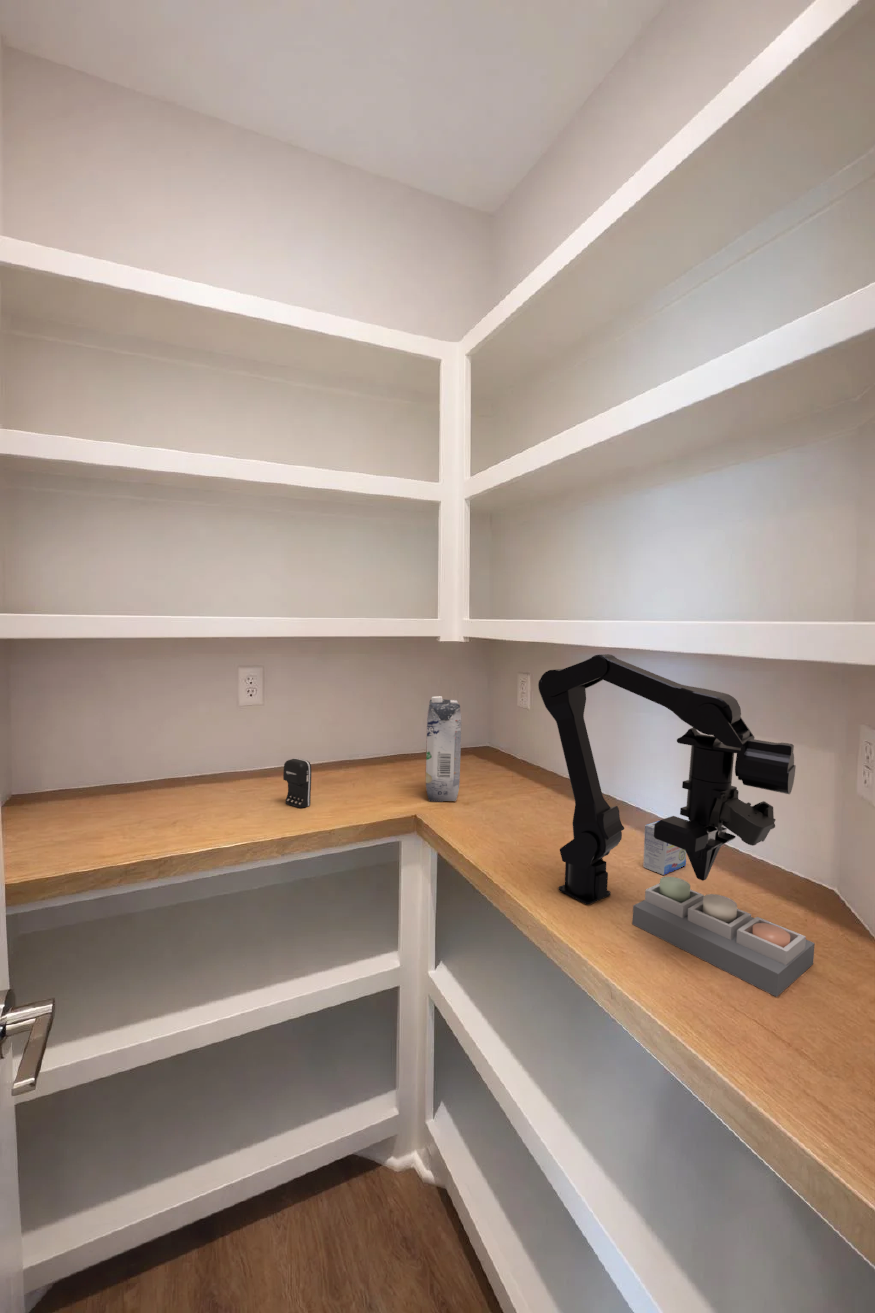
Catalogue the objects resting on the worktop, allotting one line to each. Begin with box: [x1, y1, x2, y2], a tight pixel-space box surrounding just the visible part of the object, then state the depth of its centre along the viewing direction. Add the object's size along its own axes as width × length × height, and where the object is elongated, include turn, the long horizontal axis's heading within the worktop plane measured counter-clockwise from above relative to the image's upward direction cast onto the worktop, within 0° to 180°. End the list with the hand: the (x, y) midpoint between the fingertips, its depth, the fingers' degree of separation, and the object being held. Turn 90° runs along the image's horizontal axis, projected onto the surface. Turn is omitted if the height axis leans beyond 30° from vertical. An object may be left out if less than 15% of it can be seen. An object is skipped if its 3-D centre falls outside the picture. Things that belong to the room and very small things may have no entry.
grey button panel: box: [631, 882, 816, 998], centre depth 81 cm, size 21×12×5 cm, turn 37°
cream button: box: [703, 893, 738, 923], centre depth 81 cm, size 4×4×2 cm
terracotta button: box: [752, 923, 790, 948], centre depth 76 cm, size 4×4×2 cm
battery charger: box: [282, 757, 312, 809], centre depth 137 cm, size 7×4×11 cm, turn 56°
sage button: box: [659, 876, 691, 902], centre depth 87 cm, size 4×4×2 cm
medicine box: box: [642, 820, 687, 876], centre depth 107 cm, size 8×4×9 cm, turn 126°
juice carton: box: [425, 695, 462, 802], centre depth 147 cm, size 9×10×27 cm
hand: (701, 879), depth 83 cm, fingers closed
